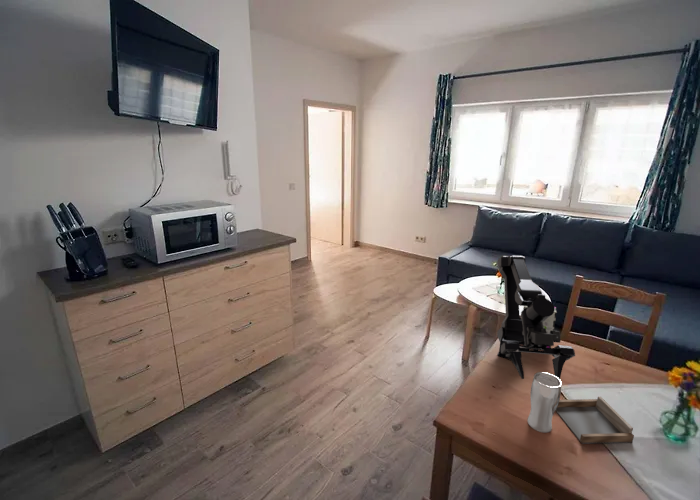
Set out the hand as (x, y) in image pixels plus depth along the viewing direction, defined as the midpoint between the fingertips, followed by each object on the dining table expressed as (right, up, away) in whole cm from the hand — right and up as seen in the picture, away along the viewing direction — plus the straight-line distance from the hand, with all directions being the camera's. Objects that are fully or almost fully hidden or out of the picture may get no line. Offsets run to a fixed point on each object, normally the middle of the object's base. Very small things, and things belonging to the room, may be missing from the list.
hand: (540, 380), depth 96 cm
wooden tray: (+14, -12, -1) cm, 18 cm away
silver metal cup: (-1, -12, -1) cm, 12 cm away
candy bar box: (+19, 0, +38) cm, 43 cm away
